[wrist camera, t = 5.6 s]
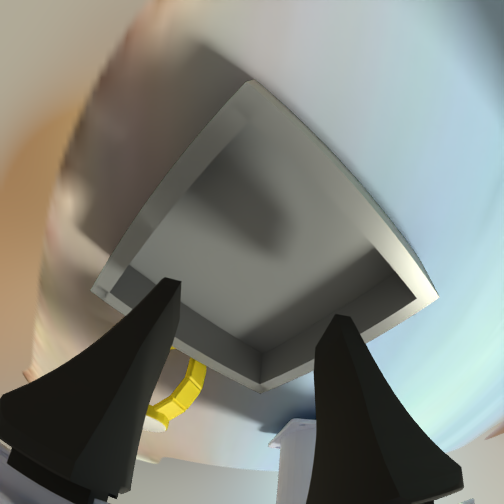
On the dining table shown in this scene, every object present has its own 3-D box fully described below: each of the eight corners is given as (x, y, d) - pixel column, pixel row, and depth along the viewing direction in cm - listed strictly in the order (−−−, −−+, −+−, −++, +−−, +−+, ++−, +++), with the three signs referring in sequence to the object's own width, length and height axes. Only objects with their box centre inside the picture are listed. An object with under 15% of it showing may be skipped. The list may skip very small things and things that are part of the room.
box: (254, 79, 9) (246, 81, 7) (420, 260, 12) (439, 297, 10) (112, 258, 14) (90, 290, 12) (263, 358, 17) (260, 393, 15)
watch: (144, 354, 19) (116, 427, 14) (120, 328, 17) (85, 404, 13) (219, 347, 17) (200, 437, 12) (198, 317, 16) (169, 414, 11)
